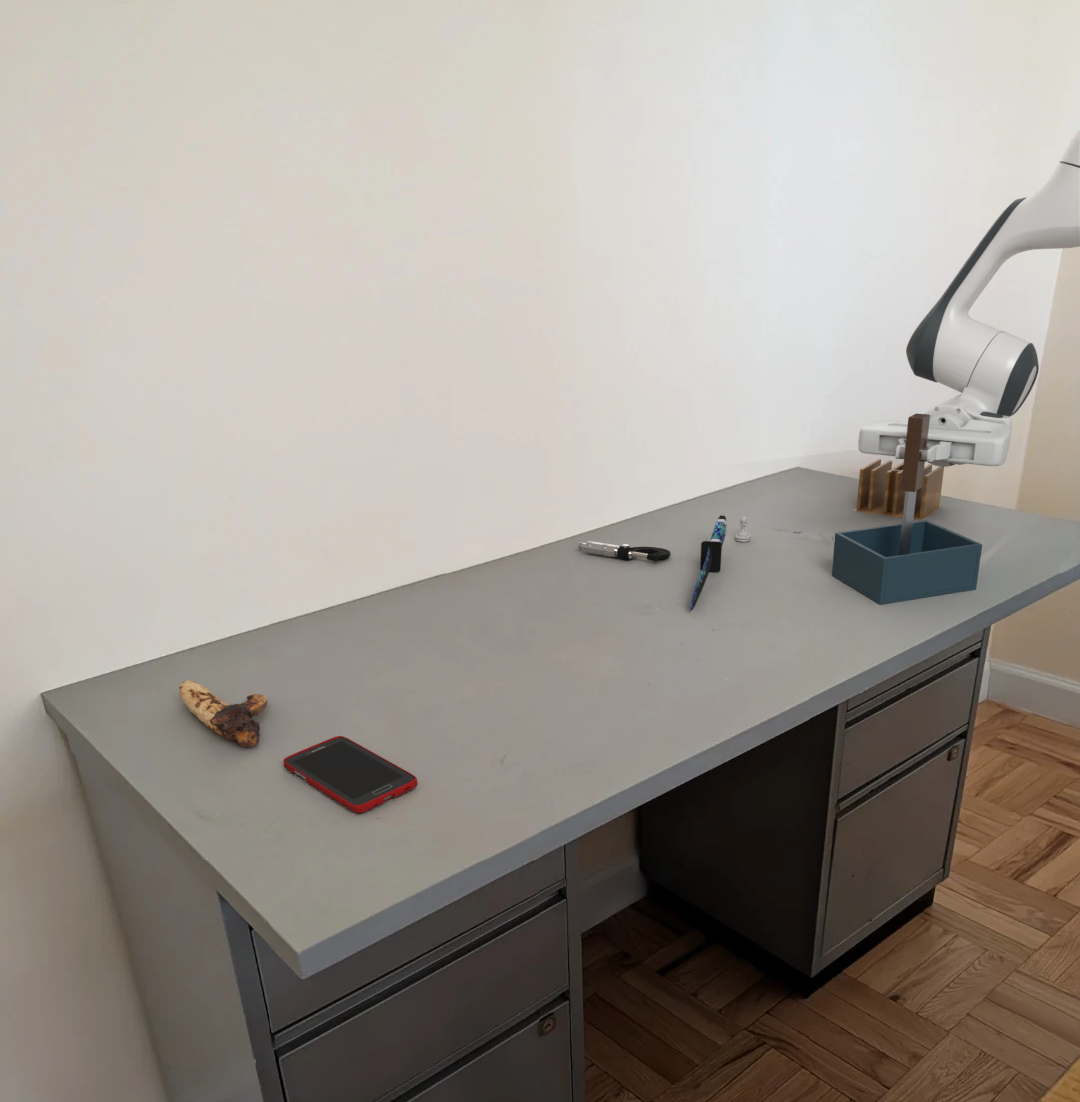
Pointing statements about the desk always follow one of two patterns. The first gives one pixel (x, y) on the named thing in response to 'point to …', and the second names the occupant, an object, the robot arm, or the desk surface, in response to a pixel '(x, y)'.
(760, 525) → the desk surface
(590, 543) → the micrometer
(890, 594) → the open box
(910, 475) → the kitchen knife
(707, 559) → the knife
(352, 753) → the cell phone
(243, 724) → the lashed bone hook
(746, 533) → the pawn
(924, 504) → the dish rack
